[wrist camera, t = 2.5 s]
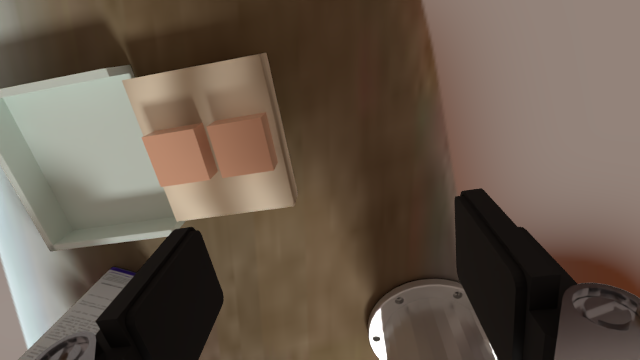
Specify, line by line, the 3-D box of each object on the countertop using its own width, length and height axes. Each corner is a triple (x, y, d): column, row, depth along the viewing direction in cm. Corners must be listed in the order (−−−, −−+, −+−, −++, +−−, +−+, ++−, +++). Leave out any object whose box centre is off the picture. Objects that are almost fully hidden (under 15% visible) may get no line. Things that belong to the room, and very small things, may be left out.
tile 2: (202, 122, 26) (193, 128, 24) (217, 171, 27) (209, 180, 25) (153, 131, 26) (141, 137, 24) (171, 178, 28) (160, 187, 26)
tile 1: (266, 112, 25) (260, 117, 23) (277, 162, 26) (273, 170, 25) (215, 120, 25) (206, 126, 24) (229, 169, 27) (222, 178, 25)
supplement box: (110, 264, 35) (9, 364, 24) (166, 279, 35) (92, 384, 24) (108, 305, 37) (15, 413, 26) (161, 319, 37) (90, 431, 27)
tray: (130, 64, 27) (105, 68, 24) (187, 218, 32) (173, 235, 29) (-2, 90, 28) (-40, 96, 25) (74, 233, 33) (50, 251, 31)
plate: (266, 52, 26) (259, 54, 23) (297, 193, 30) (294, 206, 28) (139, 76, 27) (121, 80, 25) (188, 208, 31) (176, 221, 29)
